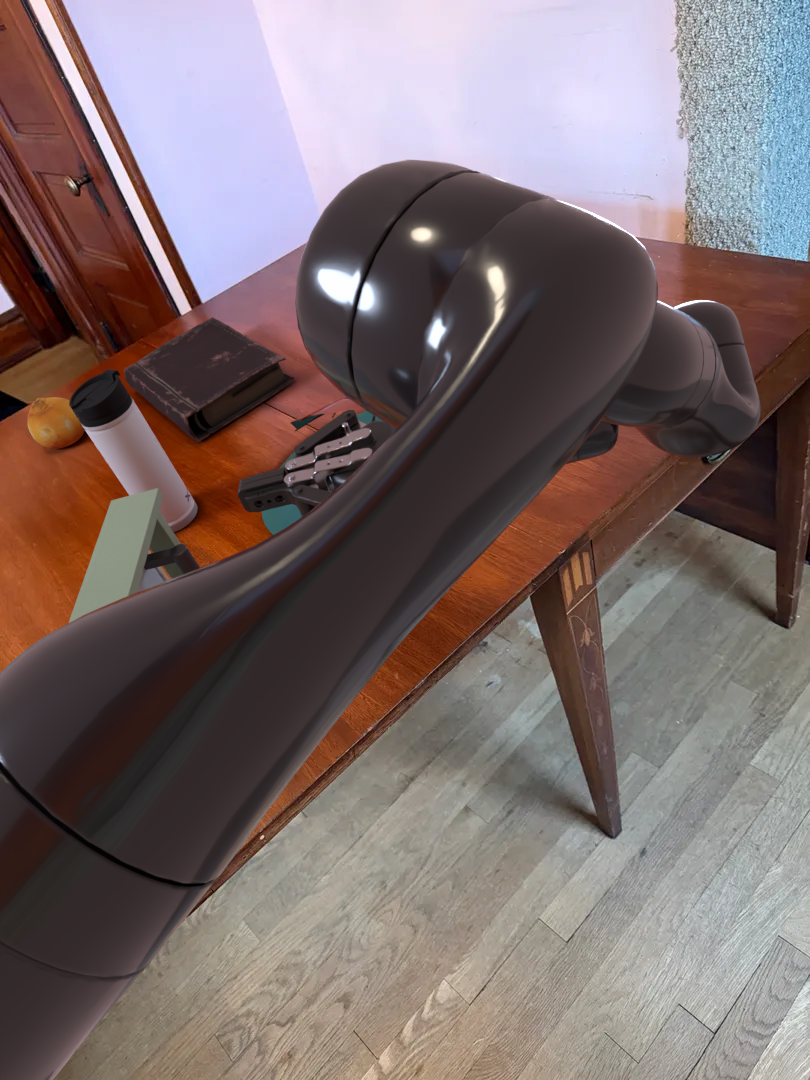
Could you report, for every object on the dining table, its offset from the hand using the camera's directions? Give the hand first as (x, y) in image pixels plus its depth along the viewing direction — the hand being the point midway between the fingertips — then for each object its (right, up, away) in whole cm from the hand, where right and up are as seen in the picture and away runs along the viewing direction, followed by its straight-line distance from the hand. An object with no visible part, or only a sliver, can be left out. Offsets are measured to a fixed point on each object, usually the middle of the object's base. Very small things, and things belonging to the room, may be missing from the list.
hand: (242, 497), depth 56 cm
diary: (-18, +21, +62) cm, 68 cm away
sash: (-6, -15, +17) cm, 24 cm away
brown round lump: (-41, +13, +62) cm, 76 cm away
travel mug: (-17, 0, +39) cm, 43 cm away
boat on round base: (+8, +4, +35) cm, 36 cm away
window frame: (-8, -18, +16) cm, 26 cm away
